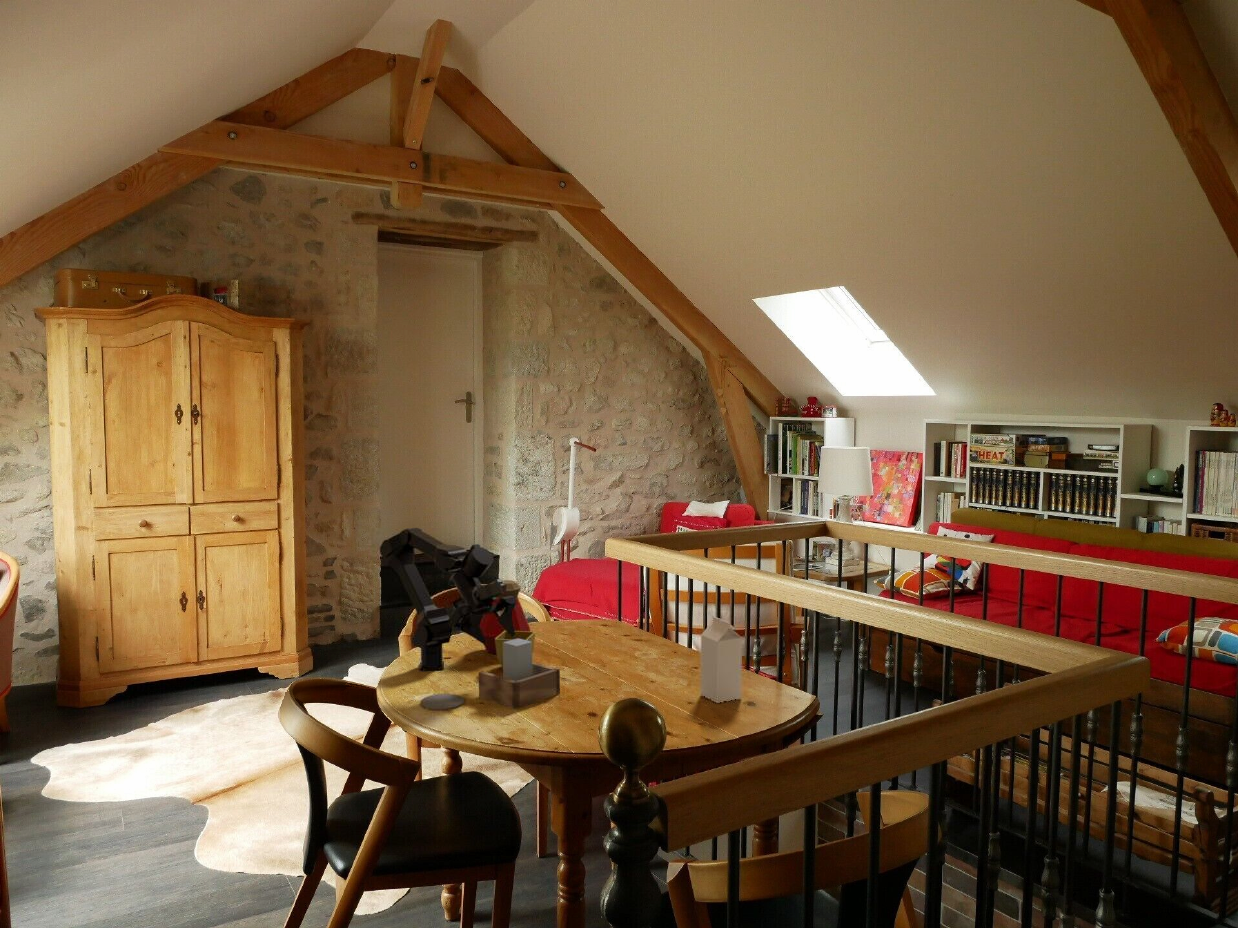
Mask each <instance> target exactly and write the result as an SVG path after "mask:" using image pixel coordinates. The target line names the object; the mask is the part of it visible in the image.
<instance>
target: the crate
mask: <svg viewBox="0 0 1238 928" xmlns="http://www.w3.org/2000/svg"><path fill="white" fill-rule="evenodd" d="M560 672H561V669H559V668H554V667H552V666H549V665H545V664H541V663H537V662H535V661H532V676H531V677H528V678H525V679H521V680H518V681H514V680H510V679H507V678H504V677H503V676H500V675H497V674H495V673H494V674H493V673H490V672H488V671H484V670H481V671H478V697H480V698H483V699H486V700H488V701H491V702H494V703H497V704H501V705H503V706H506V707H510V708H512V709H515V710H516V709H519V708H522V707H525V706H528V705H531V704H533V703H534V704H535V703H536V702H539V701H543V700H546V699H548V698H551V697H555V696H557V695H560V693H561V688H560V687H561V681H560V680H561V677H560V676H561V673H560Z"/></svg>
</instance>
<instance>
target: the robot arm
mask: <svg viewBox="0 0 1238 928" xmlns="http://www.w3.org/2000/svg"><path fill="white" fill-rule="evenodd" d="M381 543H382V544H381V545H380V547H379V552H380V555H381V557H382V558H383V560H384V562H385V563H386V565H387V566H389V567H390V568H392V569H393V570H395V571H396V572H397V574H398V576H399V578H400V581H401V583H402V585H403V586H404V589H405V591H406V593H407V594H408V597H409V599H410V602H411V603H412V605H413V608H414V609H415V612H416V613H417V621H416V627H417V631H416V632H415V634H414V635H413V636H412V638H411V640H412V644H413V646H414V647H417V648H419V649H420V662H419V666H418V667H419V668H418V670H419V671H436V670H444V669H445V660H444V659H443V658H444V657H443V653H444V652H443V645H444V644H448V643H450V640H451V638H452V637H451V636H452V632H453V630H455V629H456V630H457V631H460V632H462V633H464V634H466V635H469V636H470V637H472V638H474V639H475V640H477V642H480V643H481V644H483V645H484V644H485V643H486V642H487V641H486V638H485V636H484V634H483V632H482V630H481V629H480V627H479V626H480V624H479V623H478V621H477V617H481V616H482V617H483V616H484V615H486V614H491V613H494V615H495V616H496V617H498V619H497V621H498V622H499V623H500V624H501V625H502V626H503V628H504V629H505V630H506V631H507V632H508V633H509V634H510V635H511V636H512V637H513V636H514V635H515V630H514V625H513V619H512V612H513V610H514V609H515V607H516V605H517V604H518V602H517V600H516V598H515V597H514V596H508V597H503V598H501V599H500V600H499V601H498V603H497V604H495V605H493V604H492V603H493V602H494V601H495V600H496V598H495V597H496V596H498V595H500V594H501V595H502V594H503V591H505V590H506V588H507V587H506V584H505V582H504V581H503V580H504V579H502V578H498V579H496V580H494V581H492V582H493V583H492V582H491V583H487V584H486V583H485V584H484V583H483V584H482V583H481V582H480V580H479V578H482V577H483V576H484V574H485V573H486V571H487V570H488V569H489V568H490V567H491V565H492V563H493V562H494V556H493V554H492V552H490V550H488V549H487V548H485V547H482V546H481V545H480V544H479V543H477V544H472V545H471V547H470V548H469V550H468V551H467V549H466V548H465V547H462V546H459V545H454V544H446V543H443V542H442V541H441V540H438V539H437V538H435V537H433V536H431V535H430V534H428V533H426V532H424V531H423V530H422V529H421V528H419V527H412V528H405V529H403V530H402V531H400V532H399V533H397V534H396V535H393V536H391V537H390V538H387V539H384V540H383V541H382V542H381ZM415 550H418V551H419V552H421V553H423V554H424V555H426V556H428V557H429V558H431V559H433V560H434V561H433V562H434V565H435V566H436V567H438V569H439V570H441V571H442V572H443V573H447V572H454V571H455V572H454V573H453V574H450V575H449V580H448V587H453V586H455V588H456V589H457V591H458V593H459V594H460V596H461V598H460V601H459V602H460V603H461V604H465V605H461V606H457V607H456V608H455V610H453V611H452V613H451V615H450V616H449V614H448V612H447V609H446V608H445V607H437V606H436V605H435V603H434V601H433V599H432V597H431V595H430V594H429V590H428V589H427V587H426V584H425V583H424V581H423V579H422V576H420V573H419V571H418V569H417V566H416V565H415V563H414V561H415V560H414V559H415V553H416V552H415Z"/></svg>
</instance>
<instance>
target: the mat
mask: <svg viewBox="0 0 1238 928" xmlns="http://www.w3.org/2000/svg"><path fill="white" fill-rule="evenodd" d="M464 704H465V698H464V697H463V696H461V695H459V694H453V693H438V694H434V695H430V696H425V697H424V698H422V699H421V700H420V706H421V707H422V708H423V707H424V708H423V709H425V708H428V709H427V710H429V709H431V710H430V711H448V709H449V710H453V708H454V709H456V708H460V707H461V706H463V705H464Z"/></svg>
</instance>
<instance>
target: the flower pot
mask: <svg viewBox="0 0 1238 928" xmlns="http://www.w3.org/2000/svg"><path fill="white" fill-rule="evenodd" d="M535 637H536V631H530V632H526V631H515V635H514V636H513V637H512V636H511V635H510V634H509V633H508V632H507V631H504V632H503V633H501V634H500V635H499V636H498V637H496V638H495V645H496V652H497V655H496V657H497V660H498V663H499V664H500V667H502V669H503V642H506V641H510V640H514V639H518V638H519V639H523V640H527V641H531V642H532V654H533V652H534V646H535V639H536V638H535Z"/></svg>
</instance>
